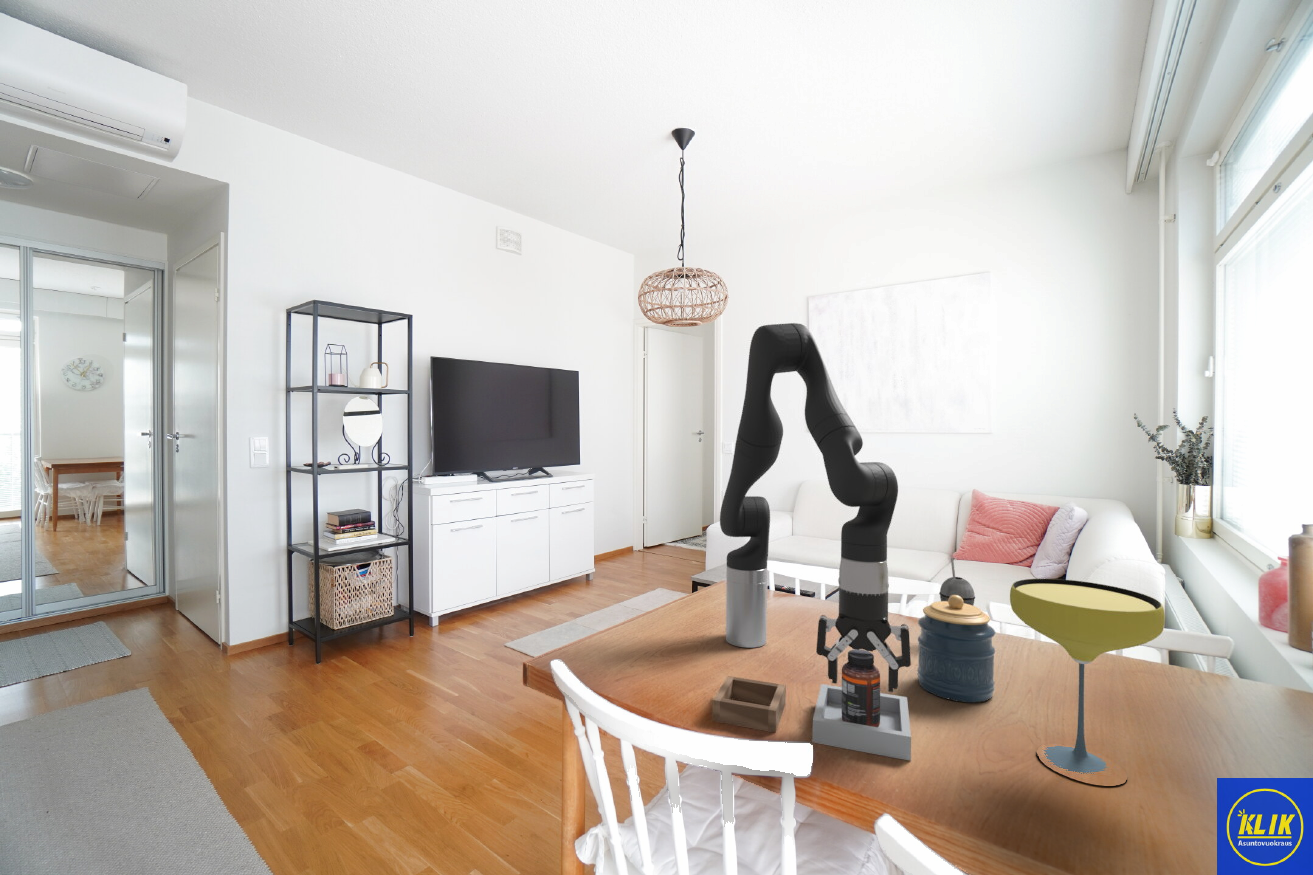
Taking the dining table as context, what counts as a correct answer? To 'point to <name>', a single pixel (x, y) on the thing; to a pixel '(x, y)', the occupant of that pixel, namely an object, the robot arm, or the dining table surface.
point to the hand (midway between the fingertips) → (862, 685)
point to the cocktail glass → (1085, 635)
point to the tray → (863, 726)
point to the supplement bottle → (861, 689)
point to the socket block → (749, 712)
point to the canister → (956, 651)
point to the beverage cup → (957, 588)
